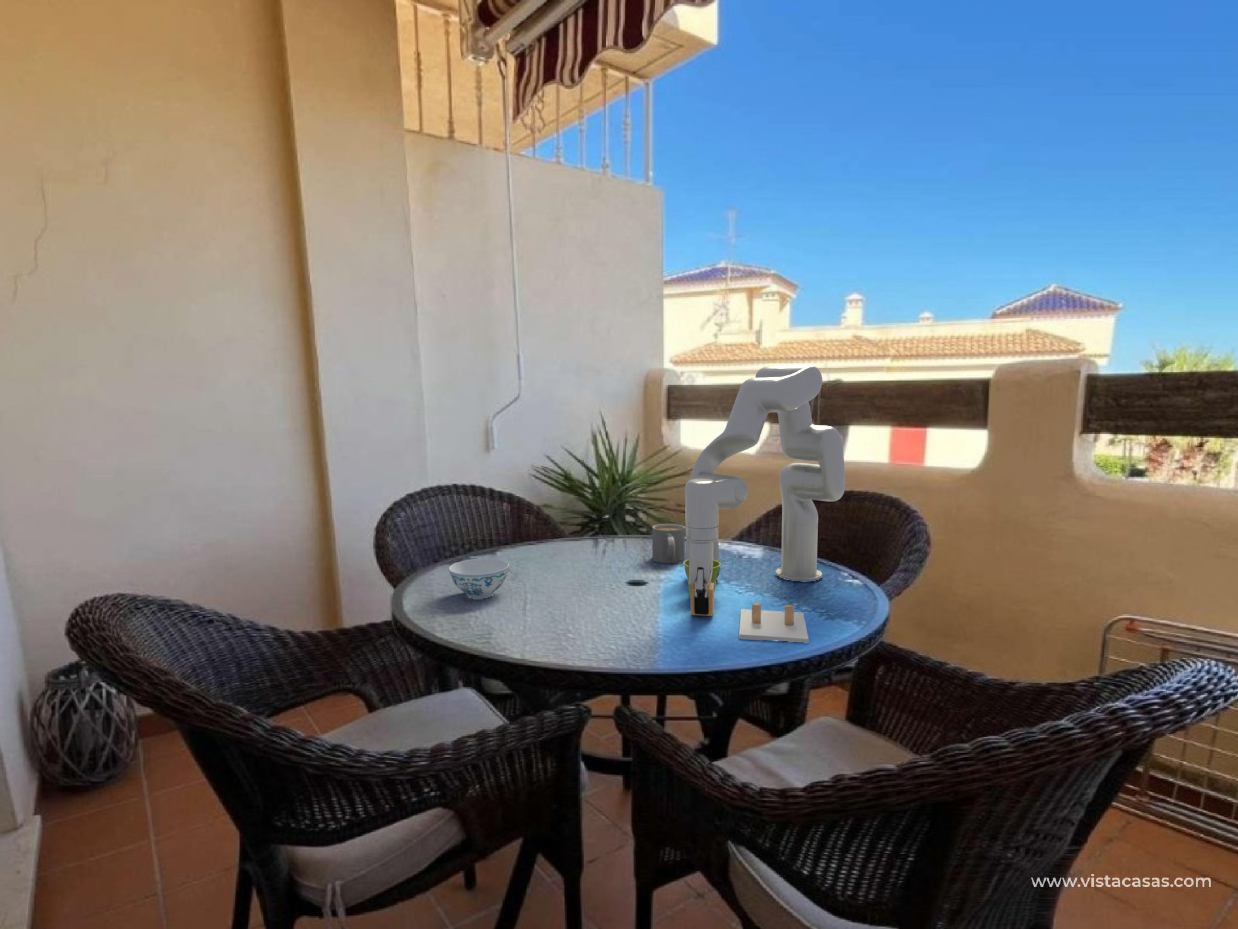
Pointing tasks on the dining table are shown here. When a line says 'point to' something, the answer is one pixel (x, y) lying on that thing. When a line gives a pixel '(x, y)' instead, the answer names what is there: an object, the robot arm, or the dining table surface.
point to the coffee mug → (668, 543)
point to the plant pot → (714, 573)
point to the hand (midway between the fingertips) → (702, 608)
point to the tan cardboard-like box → (709, 594)
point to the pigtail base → (772, 624)
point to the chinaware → (479, 576)
